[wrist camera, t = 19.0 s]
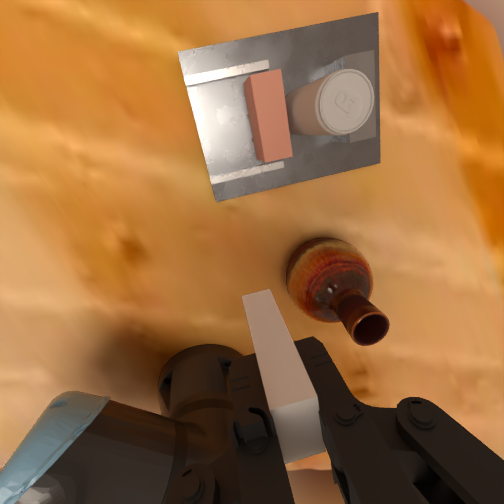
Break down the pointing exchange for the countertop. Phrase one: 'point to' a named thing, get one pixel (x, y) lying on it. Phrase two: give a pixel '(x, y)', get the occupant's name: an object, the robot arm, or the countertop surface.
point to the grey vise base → (294, 76)
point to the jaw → (268, 115)
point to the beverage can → (331, 104)
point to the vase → (336, 288)
